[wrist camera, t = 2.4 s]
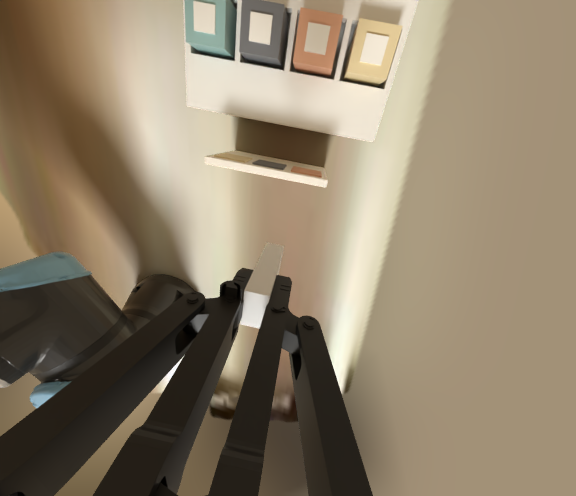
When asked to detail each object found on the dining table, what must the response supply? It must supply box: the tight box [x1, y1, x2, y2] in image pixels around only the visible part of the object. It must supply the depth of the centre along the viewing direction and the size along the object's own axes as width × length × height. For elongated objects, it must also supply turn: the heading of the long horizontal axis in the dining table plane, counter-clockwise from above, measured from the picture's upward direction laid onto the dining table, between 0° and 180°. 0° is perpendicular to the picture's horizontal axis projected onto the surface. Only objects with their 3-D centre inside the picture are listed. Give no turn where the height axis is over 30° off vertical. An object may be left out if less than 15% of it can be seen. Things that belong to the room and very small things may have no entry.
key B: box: [293, 7, 343, 78], centre depth 24 cm, size 4×4×4 cm
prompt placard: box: [205, 150, 328, 188], centre depth 30 cm, size 14×1×11 cm, turn 80°
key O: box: [239, 0, 289, 69], centre depth 24 cm, size 4×4×4 cm
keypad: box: [183, 0, 419, 142], centre depth 27 cm, size 24×16×5 cm, turn 80°
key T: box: [343, 18, 403, 86], centre depth 24 cm, size 4×4×4 cm
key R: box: [185, 0, 237, 60], centre depth 24 cm, size 4×4×4 cm
